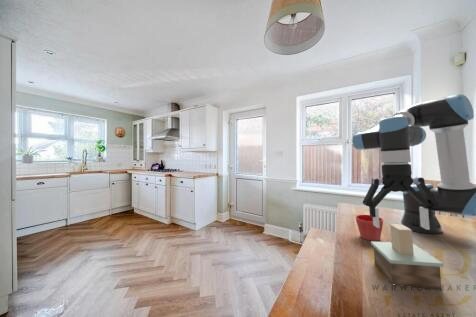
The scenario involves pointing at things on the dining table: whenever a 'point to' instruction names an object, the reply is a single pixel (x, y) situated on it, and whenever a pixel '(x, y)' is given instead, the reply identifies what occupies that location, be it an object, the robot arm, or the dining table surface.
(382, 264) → the crate
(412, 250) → the lid
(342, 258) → the dining table surface
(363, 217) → the flower pot
